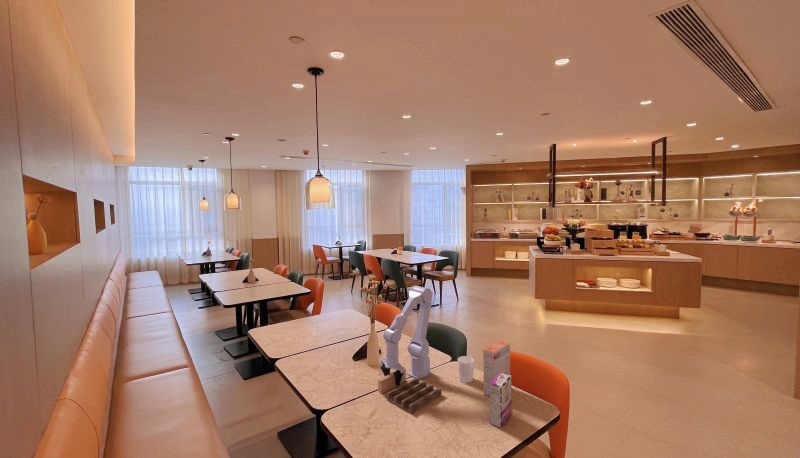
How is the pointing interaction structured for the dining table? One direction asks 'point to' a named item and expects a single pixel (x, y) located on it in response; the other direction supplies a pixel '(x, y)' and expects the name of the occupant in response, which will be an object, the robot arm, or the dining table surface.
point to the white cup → (465, 369)
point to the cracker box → (495, 363)
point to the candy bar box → (500, 400)
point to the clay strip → (389, 382)
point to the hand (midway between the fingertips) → (392, 382)
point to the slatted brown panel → (413, 395)
